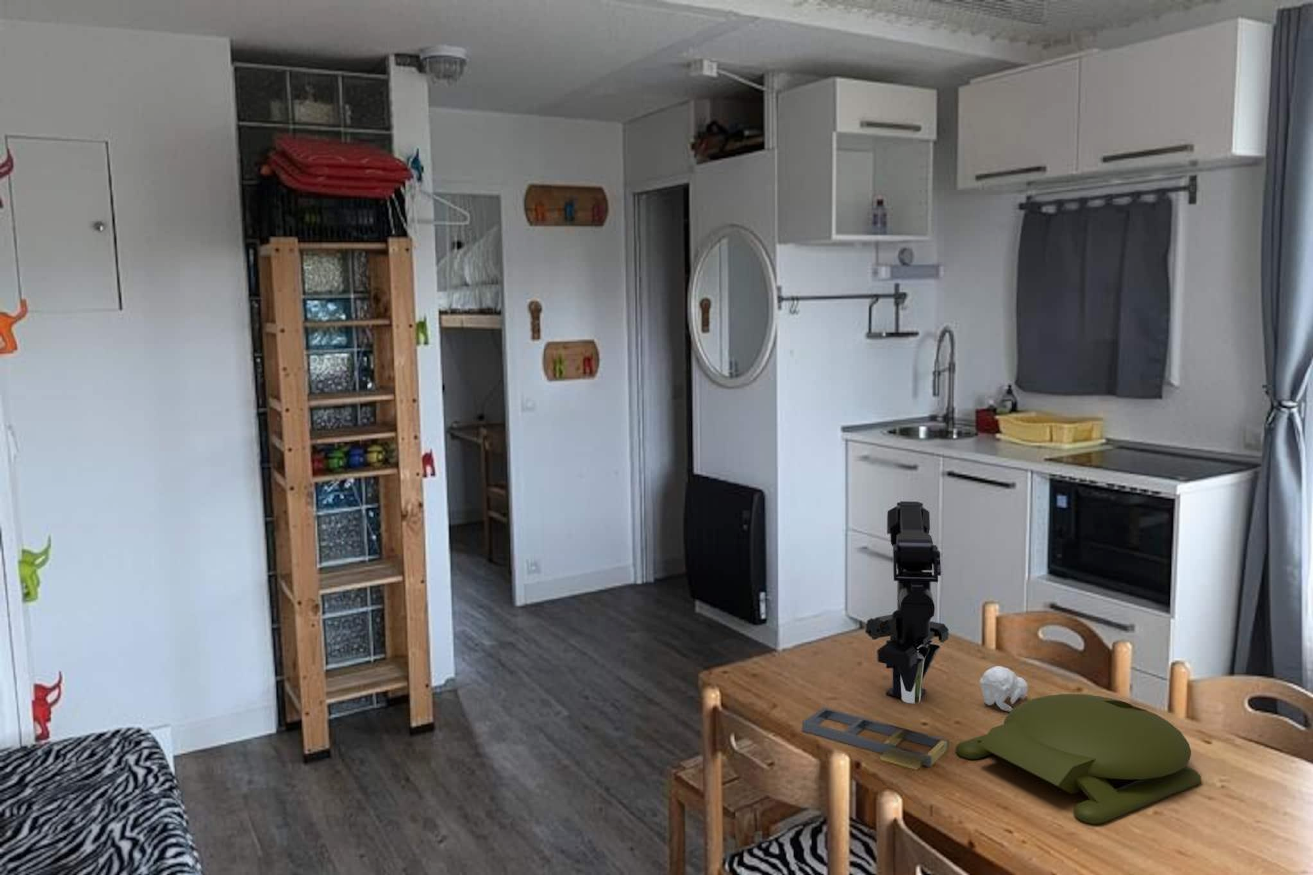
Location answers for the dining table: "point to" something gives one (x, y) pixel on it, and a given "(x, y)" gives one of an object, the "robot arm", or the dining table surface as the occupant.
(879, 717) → the dining table surface
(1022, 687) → the white bear figurine
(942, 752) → the rail
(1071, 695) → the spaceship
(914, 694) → the milkshake
